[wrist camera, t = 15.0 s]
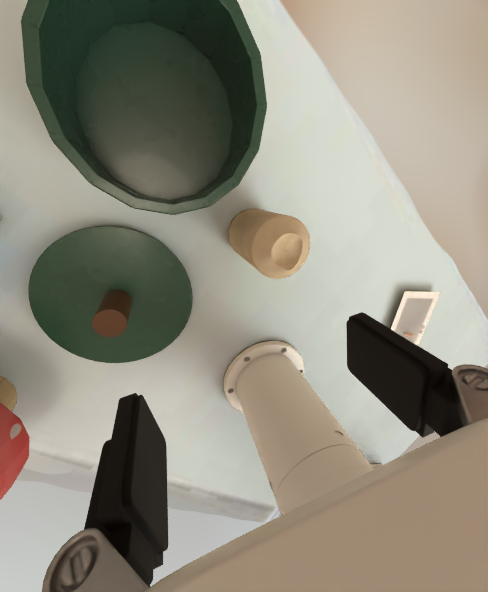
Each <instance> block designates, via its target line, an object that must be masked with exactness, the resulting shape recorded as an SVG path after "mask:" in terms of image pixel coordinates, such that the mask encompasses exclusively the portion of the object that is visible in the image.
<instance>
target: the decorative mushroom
mask: <svg viewBox="0 0 488 592" xmlns="http://www.w3.org/2000/svg"><path fill="white" fill-rule="evenodd" d="M16 403H17V393H16V390H15V388H14V386H13V385H12V384H11V383H10V382H9V381H8V380H7V379H6V378H4V377H2V376H0V500H1V499H2V498H3V496H4V495H5V494H6V493H7V491H8V490H9V489H10V488H11V486H12V485H13V483H14V482H15V480H16V478H17V476H18V475H19V473H20V471H21V470H22V468H23V466H24V464H25V462H26V461H27V459H28V456H29V435H28V433H27V431H26V429H25V427H24V425H23V423H22V421H21V420H20V418H18V417H17V416H16V415H15V414H14V413H13V412H11V411H12V410H13V408H14V406H15V405H16Z"/></svg>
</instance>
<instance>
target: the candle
mask: <svg viewBox="0 0 488 592" xmlns="http://www.w3.org/2000/svg"><path fill="white" fill-rule="evenodd" d="M229 240H230V243H231V246H232V247H233V249H234V250H235V251H236V252H237V253H238V254H239V255H240V256H241V257H243V258H244V259H245V260H246V261H247V262H249V263H250V264H251V265H252V266H253V267H255V268H256V269H257V270H258V271H260V272H261V273H262V274H263V275H265V276H267V277H269V278H274V279H281V278H285V277H288V276H290V275H292V274H294V273H295V272H296V271H298V270H299V269H300V268H301V266H302V265H303V264H304V262H305V260H306V258H307V256H308V253H309V249H310V238H309V234H308V231H307V229H306V227H305V226H304V224H303V223H302V222H301V221H299V220H298V219H296V218H294V217H291V216H287V215H282V214H277V213H273V212H268V211H263V210H258V209H248V210H245V211H242V212H241V213H239V214H238V215H237V216H236V217H235V218H234V219H233V221H232V222H231V225H230V228H229Z"/></svg>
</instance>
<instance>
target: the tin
mask: <svg viewBox="0 0 488 592" xmlns="http://www.w3.org/2000/svg"><path fill="white" fill-rule="evenodd" d="M21 24H22V36H23V48H24V61H25V73H26V83H27V86H28V88H29V91H30V93H31V95H32V97H33V99H34V102H35V104H36V106H37V108H38V110H39V113H40V115H41V117H42V119H43V122H44V124H45V126H46V128H47V130H48V133H49V135H50V137H51V139H52V141H54V144H55V145H56V146H57V147H58V148H59V149H60V150H61V152H62V153H63V154H64V155H65V156H66V157H67V158H68V159H69V160H70V162H71V163H72V164H73V165H74V166H75V167H76V168H77V169H78V170H79V172H80V173H81V174H82V175H83V176H84V177H85V178H86V179H87V180H88V182H89V183H91V184H92V185H93V186H95V187H97V188H99V189H100V190H102V191H104V192H106V193H107V194H109V195H111V196H113V197H114V198H116V199H118V200H119V201H121V202H123V203H125V204H126V205H128V206H130V207H133V208H135V209H141V210H147V211H153V212H159V213H165V214H171V215H173V214H174V215H176V214H180V213H184V212H188V211H193V210H197V209H201V208H205V207H209V206H211V205H213V204H214V203H215V202H216V201H218V200H219V199H220V198H222V197H223V196H224V195H226V194H227V193H228V192H230V191H231V190H232V189H234V188H235V187H236V186H238V185H239V183H240V182H241V180H242V178H243V177H244V175H245V173H246V171H247V170H248V168H249V166H250V165H251V163H252V161H253V159H254V158H255V156H256V154H257V152H258V150H259V147H260V141H261V136H262V130H263V125H264V119H265V114H266V108H267V102H266V94H265V86H264V78H263V70H262V62H261V55H260V52H259V49H258V47H257V45H256V43H255V40H254V38H253V36H252V33H251V31H250V29H249V26H248V24H247V22H246V20H245V17H244V15H243V13H242V10H241V8H240V6H239V4H238V2H237V0H28V2H27V5H26V8H25V11H24V13H23V16H22V20H21Z"/></svg>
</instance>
